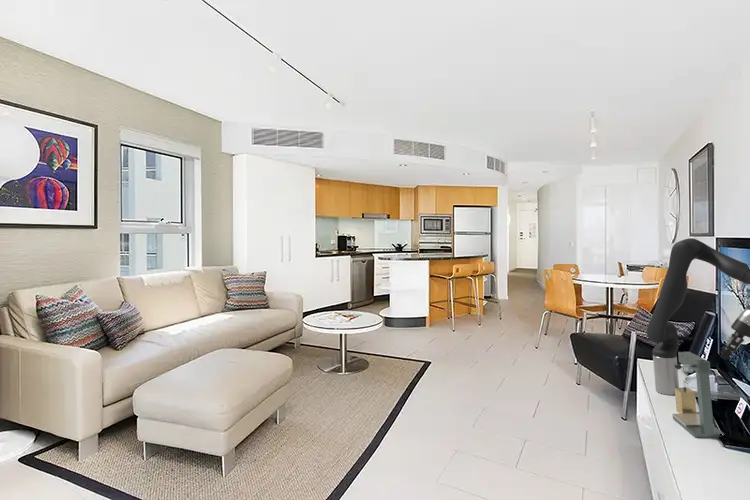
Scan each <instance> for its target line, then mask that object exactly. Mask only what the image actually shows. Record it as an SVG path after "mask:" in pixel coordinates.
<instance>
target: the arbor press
mask: <svg viewBox="0 0 750 500" xmlns="http://www.w3.org/2000/svg"><path fill="white" fill-rule="evenodd" d="M677 353H678V354H677V355H678V357H677V358H678V362H677V363H676V364H675V365H674V367H675V368H676V369H678V370H681V369H683V372H685V373H688V374H689V373H690V374H691V373H694V372H695V374H696V375H695V376H696V377H695V378H696V388H697V402H698V411H699V413H696V414H679V413H672V419H673V420H674V421H675V423H677V424H678V425H679V426H680V427H681V428H683V429H684V430H685V431H686V432H688V433H689V435H691V436H693V437H694V438H695V439H696V438H697V439H698V438H704V439H705V438H708V439H713V438H714V439H715V438H716V439H720V438H719V435H720V434H724V435H725V433H724V432H723V431H721V430H720V429H719V428H718V427H716V426H715V424H714V417H713V406H712V393H711V383H710V382H711V380H710V374H711V362H710V361H709V360H707V359H705V358H703V357H700V356H699V355H697V354H696V353H695V354H694V353H693V352H691V351H677Z"/></svg>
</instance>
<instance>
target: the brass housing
mask: <svg viewBox="0 0 750 500" xmlns="http://www.w3.org/2000/svg"><path fill="white" fill-rule="evenodd" d="M674 397H675V409H676V412H677V414H697V405H696V404H697V403H696V393H695V391H694V390H692V389H691V388H689V387H686V386H682V387H679V388H675V395H674Z"/></svg>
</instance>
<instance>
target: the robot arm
mask: <svg viewBox="0 0 750 500" xmlns="http://www.w3.org/2000/svg"><path fill="white" fill-rule="evenodd" d="M694 260H699V261H702V262H706V263H708V264H710V265H712V266H713V267H715V268H717V269H718V270H719V271H720V272H722V273H723V274H725V275H726V276H728V277H730V278H732V279H734V280H736V281H739V282H742V283H743V284H746V285H749V284H750V269H749V267H748V265H749V264H748V263H745V262H743V261H740V260H738V259H735V258H733V257H731V256H729V255H726V254H724V253H723V252H721V251H719V250H717V249H715V248H712V247H711V246H709V245H708V244H706V243H704V242H702V241H701V240H698V239H696V238H692V237H691V238H690V237H689V238H686V239H683V240H679V241H677V242H675V243H674V244H673V246H672V248H671V251H670V255H669V261H668V262H669V263H668V267H667V271H666V273H665V276H664V279H663V282H662V285H661V288H660V292H659V296H658V298H657V301H656V305H655V309H654V310H653V313H652V316H651V317H650V320H649V322H648V324H647V327H646V335H647V338H648V339H649V341H650V342H653V343H658V344H657V345H656V346H655V347H654V348H653V349H652V361H653V371H654V373H653V374H654V386H655V392H657V393H658V392H659V394H661V393H662V394H663V395H668V396H675V388H680V384H679V383H680V382H679V369H676V368H675V367H674V365H675V364H676V363H678V359H677V358H678V357H677V353H678V352H679V343H678V342H679V335H678V330H677V327H676V326H675V324H674V323H672V322H671V321H669V320H670V318H671V317H672V316H673V315H674V314H675V313H676V312H677V311H678V310H679V308H680V307H682V305H683V303H684V301H685V300H686V299H685V298H686V295H687V292H688V280H687V274H688V270H689V267H690V265H691V263H692V261H694ZM747 264H748V265H747ZM747 321H748V322H747ZM730 327H731V328H730V329H732V330H734V332H733V333H731V334H730V336H729V338H727V341H726V343H725V346H723V348H722V350H721V351H720V353H721V354H720V355H719V357H720V358H721V359H723V360H725V361H727V360H728V359H729V357H730V356H731V355H732V354H733V353H734V352H735V353H736V350H737V349H738V348H739V347H740V346H741V344H743V343H744V342H745V339H744V337H748V338H749V339H750V306H749V304H747V306H746V307H745V308H744V309H743V310H742V311H741V312H740V313H739V315H738V316H737V317H736V319H735V320H734V321H733V323H732V324H731V325H730ZM662 394H661V395H662Z"/></svg>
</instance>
